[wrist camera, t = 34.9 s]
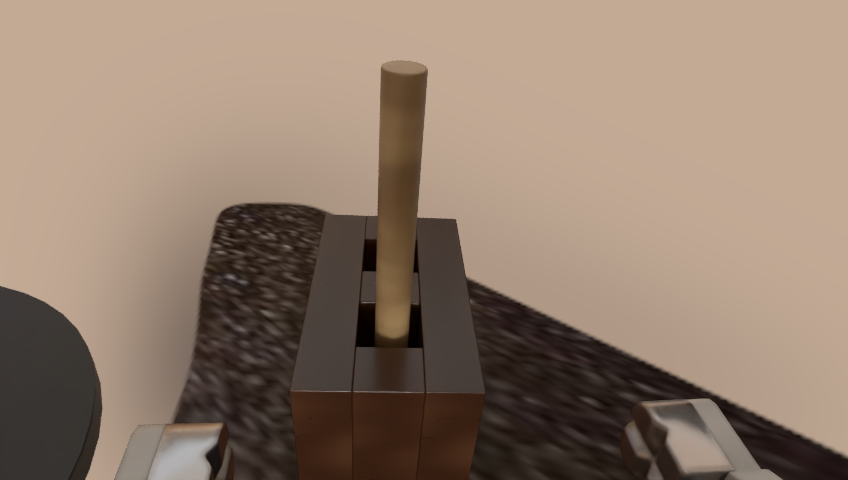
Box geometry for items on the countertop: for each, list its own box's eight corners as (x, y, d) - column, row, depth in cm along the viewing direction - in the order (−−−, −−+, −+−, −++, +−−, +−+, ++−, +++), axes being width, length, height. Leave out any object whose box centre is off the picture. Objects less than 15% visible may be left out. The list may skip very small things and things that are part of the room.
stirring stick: (371, 444, 29) (380, 72, 18) (372, 419, 30) (381, 58, 19) (401, 444, 29) (429, 75, 18) (401, 419, 30) (426, 61, 19)
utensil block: (301, 500, 26) (289, 390, 22) (329, 312, 37) (325, 214, 33) (464, 500, 27) (486, 392, 22) (444, 315, 38) (455, 218, 33)
